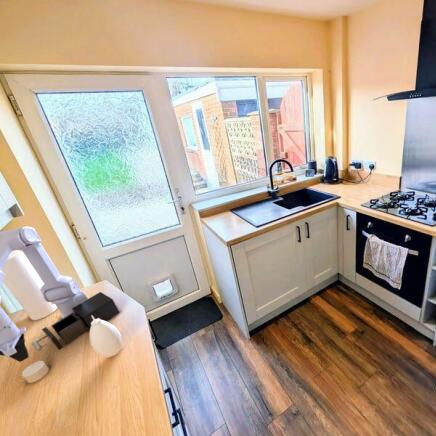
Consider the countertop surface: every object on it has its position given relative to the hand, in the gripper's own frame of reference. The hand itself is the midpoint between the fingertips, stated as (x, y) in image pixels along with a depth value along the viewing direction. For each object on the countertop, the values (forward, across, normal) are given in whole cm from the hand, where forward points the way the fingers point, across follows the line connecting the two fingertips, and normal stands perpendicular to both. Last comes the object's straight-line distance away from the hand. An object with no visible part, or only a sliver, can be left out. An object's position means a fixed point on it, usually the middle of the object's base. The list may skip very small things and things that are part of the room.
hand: (24, 357), depth 78 cm
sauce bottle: (+9, -13, -19) cm, 25 cm away
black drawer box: (+8, +12, -21) cm, 26 cm away
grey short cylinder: (+8, 0, 0) cm, 8 cm away
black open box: (+7, +10, -8) cm, 15 cm away
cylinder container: (+9, +40, -6) cm, 41 cm away
